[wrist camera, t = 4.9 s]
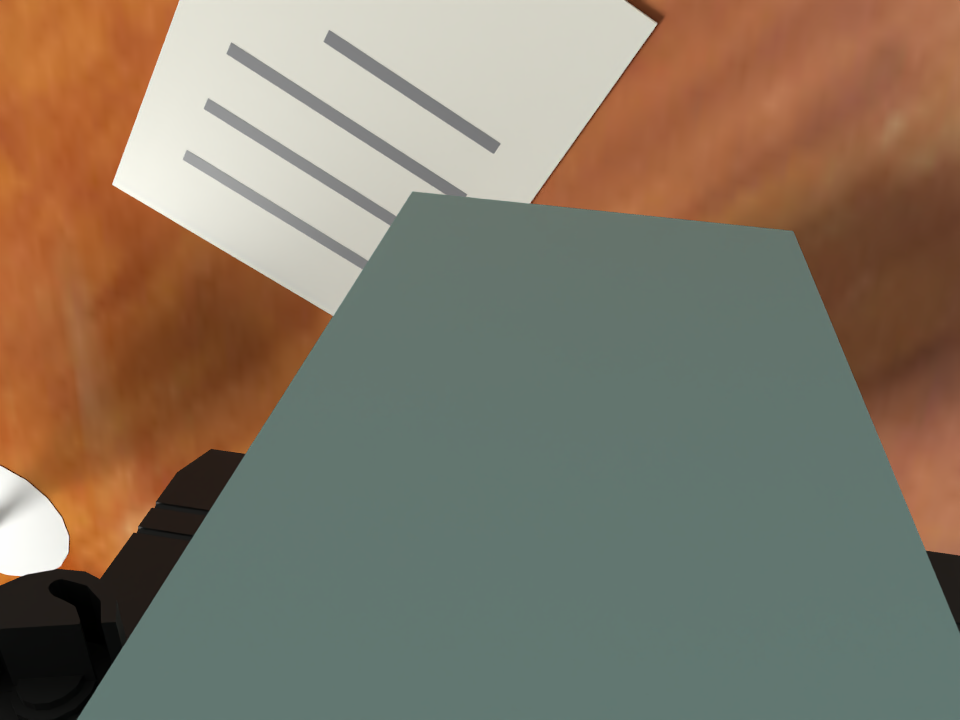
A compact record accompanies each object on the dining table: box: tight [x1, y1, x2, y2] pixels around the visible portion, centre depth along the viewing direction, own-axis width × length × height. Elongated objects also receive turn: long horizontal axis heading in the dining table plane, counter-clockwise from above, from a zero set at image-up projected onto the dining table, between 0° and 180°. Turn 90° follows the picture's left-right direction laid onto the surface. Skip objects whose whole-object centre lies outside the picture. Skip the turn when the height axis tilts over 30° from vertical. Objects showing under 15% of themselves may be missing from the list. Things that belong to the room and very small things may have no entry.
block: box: [77, 191, 960, 720], centre depth 9 cm, size 6×6×10 cm
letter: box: [112, 0, 657, 316], centre depth 26 cm, size 12×14×1 cm
